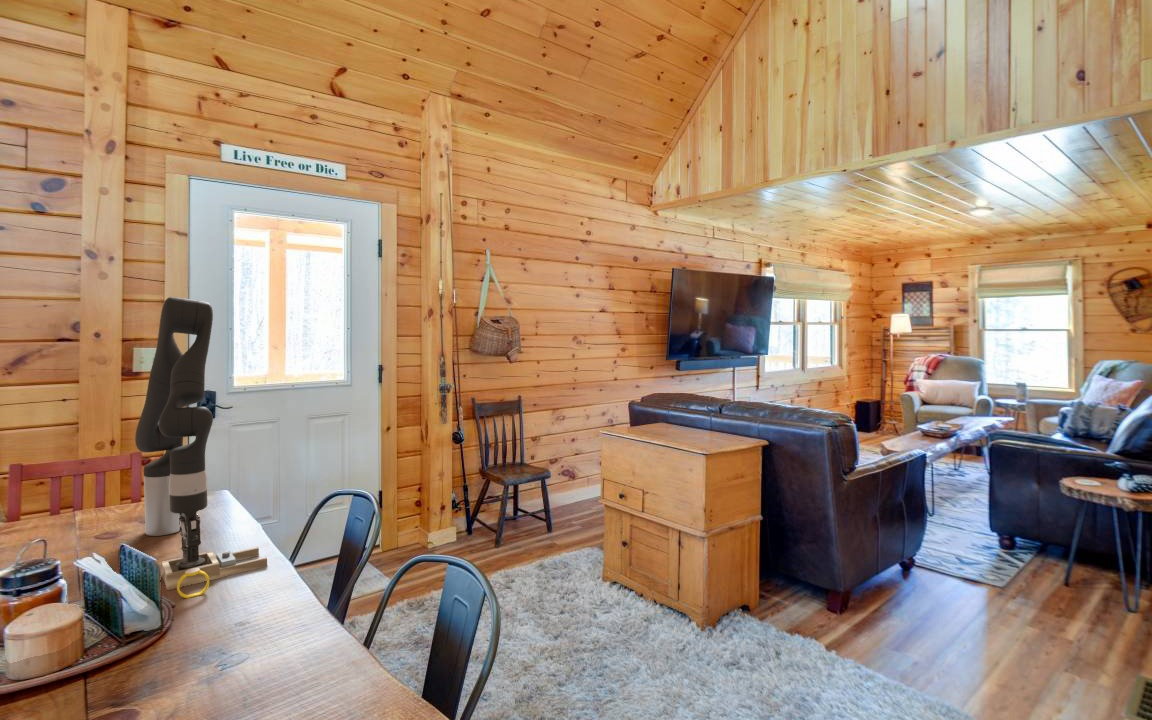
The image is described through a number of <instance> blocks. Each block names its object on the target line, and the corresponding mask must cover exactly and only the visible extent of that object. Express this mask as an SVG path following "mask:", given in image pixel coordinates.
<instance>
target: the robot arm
mask: <svg viewBox="0 0 1152 720" xmlns="http://www.w3.org/2000/svg"><path fill="white" fill-rule="evenodd" d="M213 311H214V310H213V307H212V305H211V303H210V302H206V301H205V300H204V301H203V300H198V299H197V300H196V299H191V298H190V299H189V298H183V297H176V296H175V297H174V296H171V297H170V296H169V297H167V298H166V299H165V300H164V302H163V305H162V308H161V312H160V317H159V318H160V319H159V326H158V335H157V343H156V349H155V353H154V357H153V361H152V365H151V368H150V373H149V378H148V384H147V391H146V395H145V401H144V405H143V408H142V411H141V414H140V417H139V420H138V423H137V426H136V429H135V437H134V438H135V446H136V448H137V450H138V451H139V452H142V453H155V452H162V451H165V453H164V454H163V455H161V456H160V457H158V458H157V459H155V460H153V461H151V462H149V463H147V464H145V466H144V467H143V489H144V490H143V493H144V498H143V499H144V525H145V527H144V528H145V529H144V532H145V536H150V537H158V536H159V537H160V536H166V535H172V534H175V533H178V532H180V537H181V548H182V547H183V538H184V539H186V546H187V561H188V562H189V563H191V562H195V561H198V560H199V554H200V553H199V547H198V545H199V546H200V545H201V544H202V541H201V532H202V531H201V517H200V516H199V514H198V512H199V511H203V510H204V509H206V508H207V507H208V479H207V478H208V477H207V473H206V448H207V442H208V438H209V435H210V432H211V429H212V427H213V426H212V425H213V422H214V417H213V416H214V415H213V413H212V411H211V410H210V409H209V408H208V407H206V406H190V405H194V404H197V403H199V402H201V401H203V399H204V398H205V381H206V379H205V374H206V363H207V358H208V352H209V347H210V342H211V335H212V328H213V321H214V313H213ZM174 334H184V335H185V334H186V335H193V336H196V338H195V340H194V342H193V343H192V345H191V346H190V347H189V348H188V349H187V351H185V352H184V353H183V352H182V351H181V350H180V348H179V346H178V344H177V342H176V338H175V335H174ZM187 406H188V407H187ZM189 437H195V439H194V441H192V442H191V443H189V444H186V445H184V438H189ZM191 537H195V538H196V540H194V541H190V538H191ZM181 550H182V549H181ZM182 552H183V550H182Z"/></svg>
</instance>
